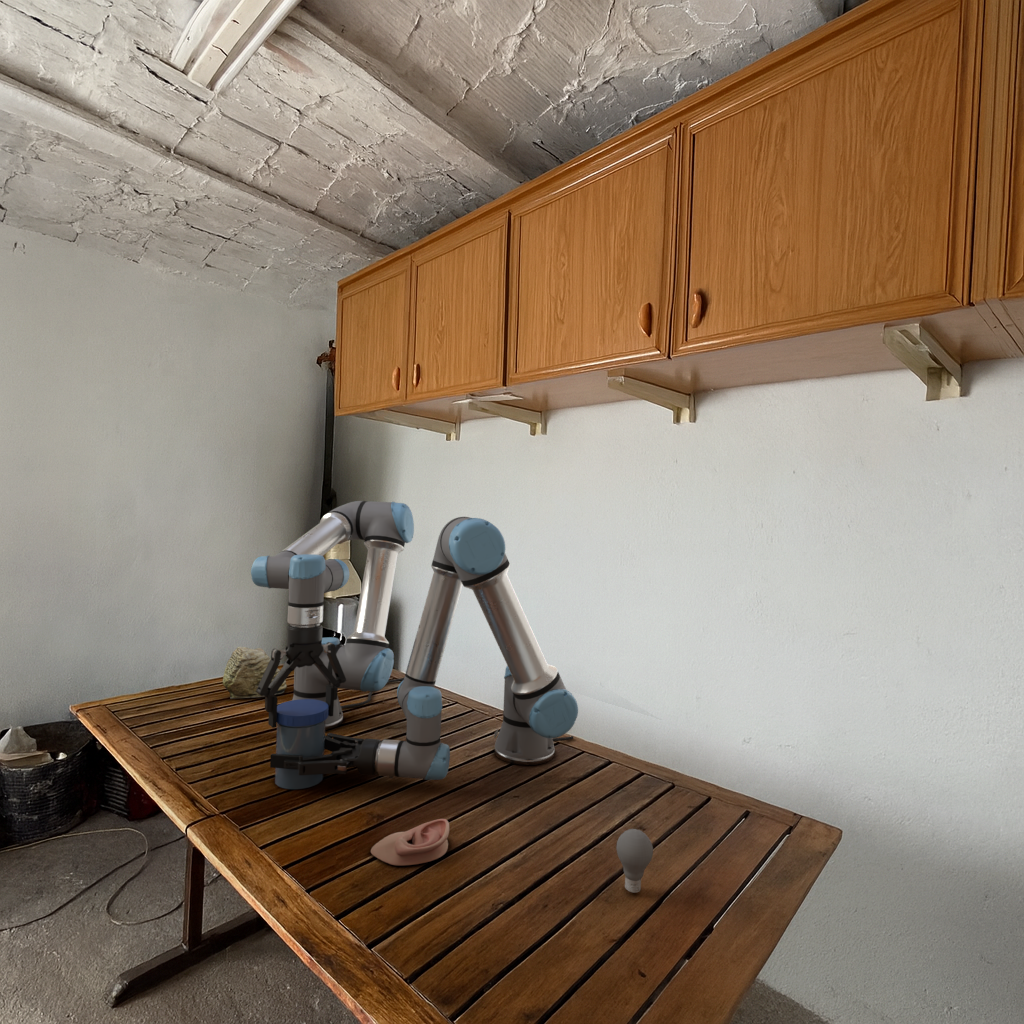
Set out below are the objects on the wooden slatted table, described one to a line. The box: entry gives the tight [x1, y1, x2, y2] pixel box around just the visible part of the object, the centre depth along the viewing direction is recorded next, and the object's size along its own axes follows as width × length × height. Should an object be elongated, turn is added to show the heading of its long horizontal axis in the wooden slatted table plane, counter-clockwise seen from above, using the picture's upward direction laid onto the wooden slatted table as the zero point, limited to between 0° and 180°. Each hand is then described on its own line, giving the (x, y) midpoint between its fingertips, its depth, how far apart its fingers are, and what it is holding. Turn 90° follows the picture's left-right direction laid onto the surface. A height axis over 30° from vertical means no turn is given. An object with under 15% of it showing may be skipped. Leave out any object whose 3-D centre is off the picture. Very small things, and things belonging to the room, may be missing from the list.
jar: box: [274, 720, 326, 790], centre depth 142 cm, size 10×10×15 cm
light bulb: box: [615, 828, 654, 894], centre depth 106 cm, size 6×6×10 cm
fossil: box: [222, 646, 288, 699], centre depth 198 cm, size 9×18×15 cm, turn 132°
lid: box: [276, 699, 329, 726], centre depth 141 cm, size 11×12×2 cm
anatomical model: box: [370, 818, 450, 867], centre depth 115 cm, size 13×4×12 cm
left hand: (301, 720), depth 141 cm, fingers open, 12 cm apart
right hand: (282, 750), depth 142 cm, fingers closed on jar, 10 cm apart
